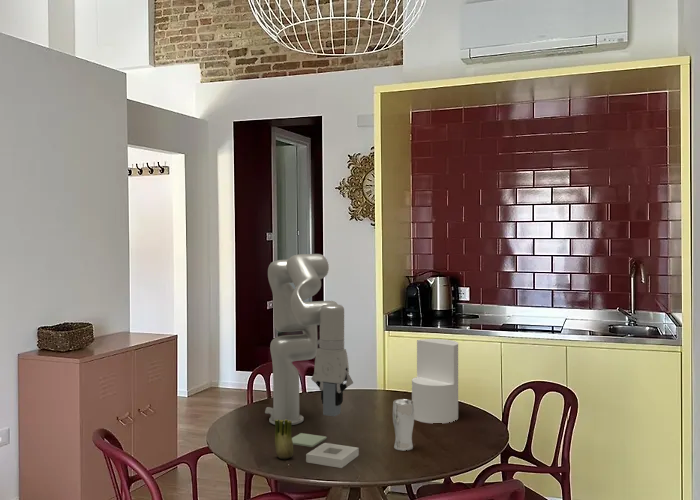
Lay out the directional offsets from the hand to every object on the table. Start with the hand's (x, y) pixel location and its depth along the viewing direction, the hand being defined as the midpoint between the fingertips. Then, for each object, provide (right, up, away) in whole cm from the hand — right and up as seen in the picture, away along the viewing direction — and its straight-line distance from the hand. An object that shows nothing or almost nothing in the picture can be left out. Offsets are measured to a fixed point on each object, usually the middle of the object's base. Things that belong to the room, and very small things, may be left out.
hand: (331, 403), depth 206 cm
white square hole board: (0, -17, 0) cm, 17 cm away
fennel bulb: (-15, -17, +2) cm, 23 cm away
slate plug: (0, -3, 0) cm, 3 cm away
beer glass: (+23, -17, +10) cm, 30 cm away
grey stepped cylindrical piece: (+38, -16, +45) cm, 61 cm away
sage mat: (-9, -17, +18) cm, 26 cm away
